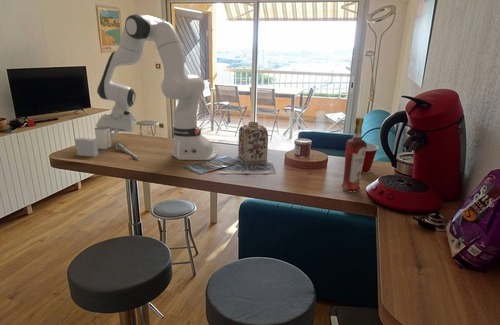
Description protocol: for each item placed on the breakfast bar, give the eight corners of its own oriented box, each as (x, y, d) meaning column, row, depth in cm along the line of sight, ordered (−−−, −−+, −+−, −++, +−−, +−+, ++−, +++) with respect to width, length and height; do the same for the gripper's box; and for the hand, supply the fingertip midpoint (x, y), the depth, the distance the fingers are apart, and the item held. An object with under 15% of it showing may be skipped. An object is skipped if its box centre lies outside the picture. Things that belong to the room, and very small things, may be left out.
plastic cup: (345, 171, 147) (348, 145, 144) (355, 165, 155) (359, 141, 151) (369, 177, 141) (373, 150, 137) (378, 171, 148) (382, 145, 145)
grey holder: (120, 149, 170) (118, 132, 167) (99, 159, 153) (97, 140, 151) (95, 147, 172) (93, 130, 170) (72, 157, 155) (70, 138, 153)
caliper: (116, 152, 166) (114, 140, 164) (118, 151, 167) (116, 139, 165) (138, 160, 154) (137, 148, 152) (140, 160, 155) (139, 147, 153)
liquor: (350, 185, 131) (359, 115, 122) (364, 191, 125) (375, 119, 116) (336, 188, 127) (344, 116, 119) (350, 195, 121) (360, 120, 113)
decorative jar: (244, 162, 155) (245, 125, 150) (237, 155, 166) (238, 120, 160) (268, 160, 159) (269, 124, 153) (259, 154, 169) (261, 119, 164)
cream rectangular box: (111, 146, 170) (109, 126, 167) (106, 149, 165) (103, 128, 162) (102, 146, 171) (100, 126, 168) (97, 148, 166) (94, 128, 163)
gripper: (99, 110, 178) (90, 132, 172) (134, 112, 175) (126, 134, 169) (104, 117, 184) (96, 138, 178) (138, 119, 181) (131, 141, 174)
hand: (111, 136), depth 173 cm, fingers closed
